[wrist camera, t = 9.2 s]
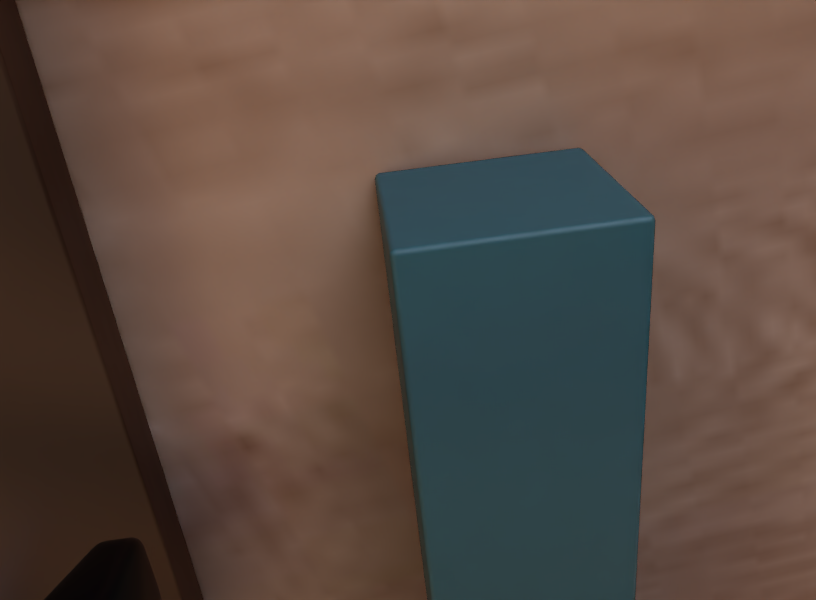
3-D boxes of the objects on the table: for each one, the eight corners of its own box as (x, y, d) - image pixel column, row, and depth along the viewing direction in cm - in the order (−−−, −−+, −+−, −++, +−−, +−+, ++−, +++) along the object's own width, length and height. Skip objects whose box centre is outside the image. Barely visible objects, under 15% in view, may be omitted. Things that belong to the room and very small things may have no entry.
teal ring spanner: (622, 746, 19) (672, 885, 16) (403, 781, 19) (417, 927, 16) (653, 136, 12) (748, 204, 9) (301, 182, 12) (294, 263, 9)
